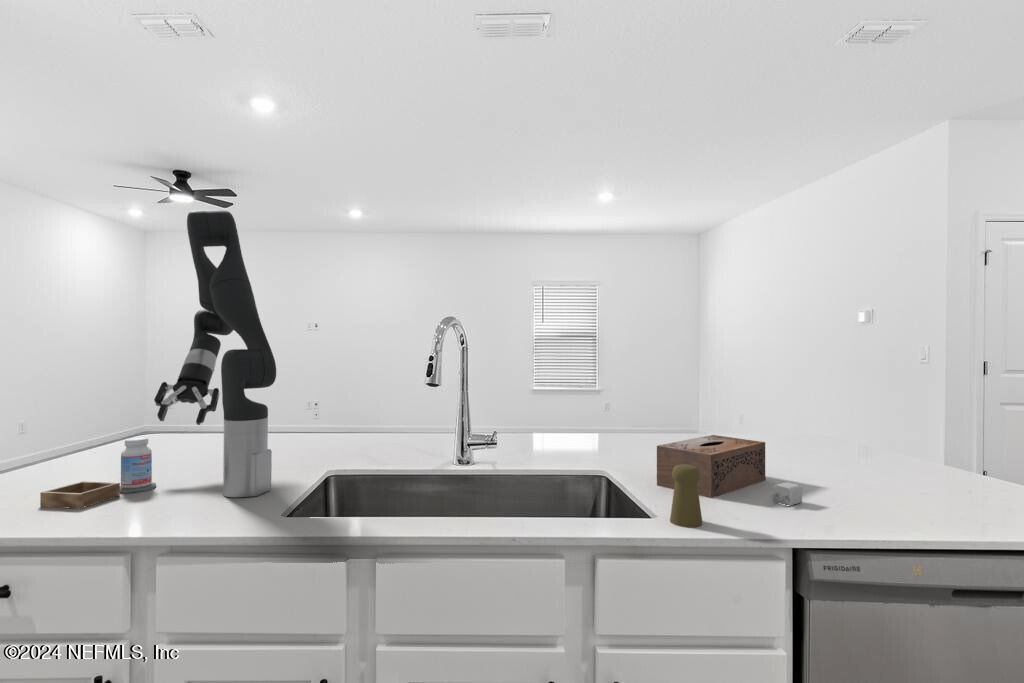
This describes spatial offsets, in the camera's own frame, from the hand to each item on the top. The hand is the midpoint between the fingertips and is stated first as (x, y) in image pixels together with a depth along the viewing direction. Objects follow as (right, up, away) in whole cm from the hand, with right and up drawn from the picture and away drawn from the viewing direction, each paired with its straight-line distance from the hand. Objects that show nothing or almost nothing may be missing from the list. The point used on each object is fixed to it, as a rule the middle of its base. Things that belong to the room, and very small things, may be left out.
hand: (179, 421), depth 140 cm
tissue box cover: (+136, -15, -5) cm, 137 cm away
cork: (+120, -14, -35) cm, 126 cm away
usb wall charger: (+145, -15, -23) cm, 147 cm away
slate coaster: (-4, -14, -11) cm, 18 cm away
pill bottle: (-4, -14, -11) cm, 18 cm away
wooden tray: (-8, -14, -22) cm, 27 cm away
